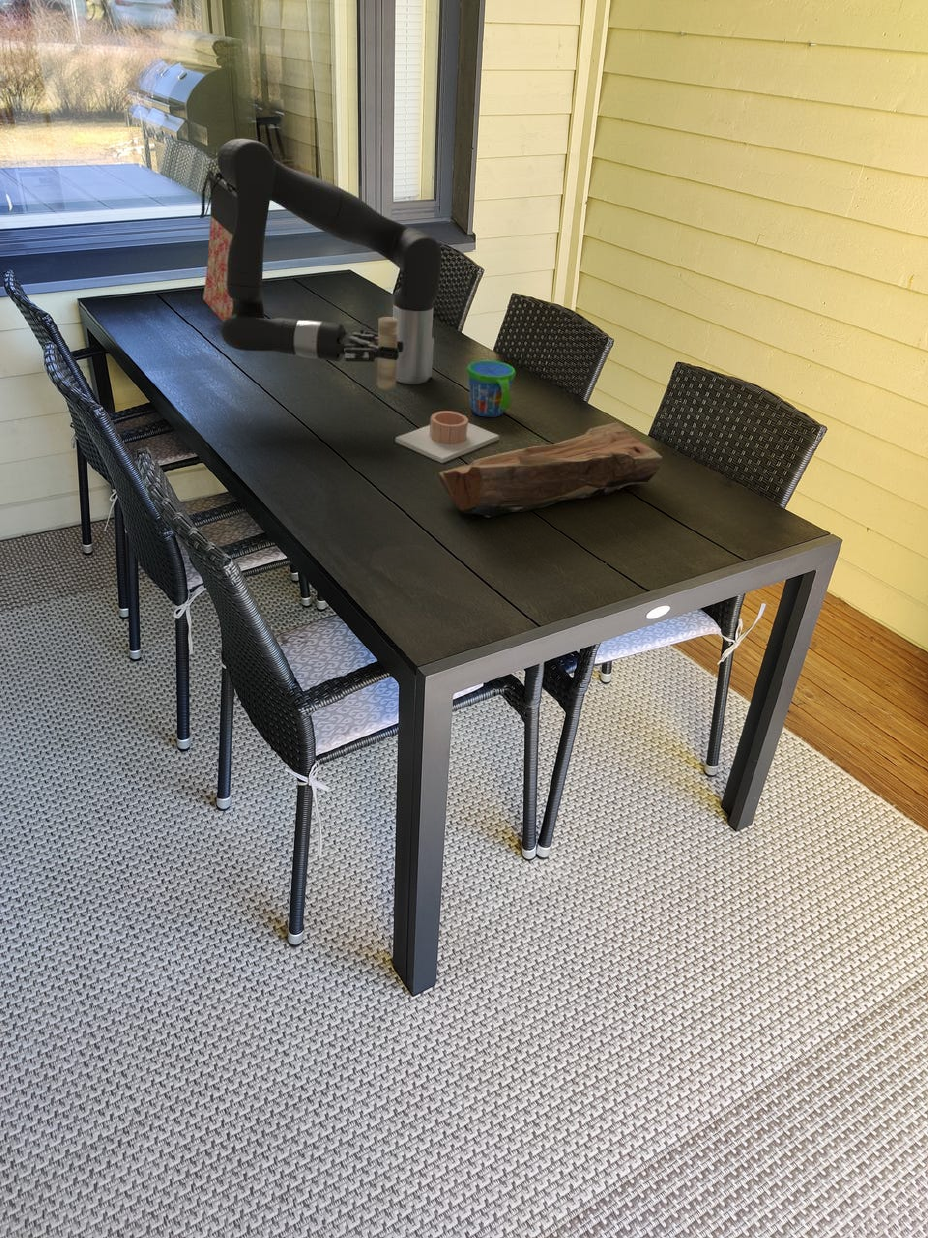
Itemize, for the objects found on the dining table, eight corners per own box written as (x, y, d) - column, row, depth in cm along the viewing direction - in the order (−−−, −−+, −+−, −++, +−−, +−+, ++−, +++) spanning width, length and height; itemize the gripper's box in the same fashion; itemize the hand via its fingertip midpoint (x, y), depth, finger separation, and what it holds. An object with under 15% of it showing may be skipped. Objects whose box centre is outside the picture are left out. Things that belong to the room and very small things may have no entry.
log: (464, 530, 173) (488, 455, 165) (421, 481, 185) (441, 408, 177) (644, 526, 196) (673, 459, 187) (596, 481, 207) (621, 417, 199)
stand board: (452, 420, 215) (453, 416, 214) (498, 439, 208) (499, 435, 208) (395, 441, 203) (395, 437, 203) (442, 463, 197) (442, 458, 196)
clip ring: (446, 426, 210) (448, 408, 207) (473, 437, 206) (475, 419, 204) (422, 435, 205) (423, 417, 202) (449, 447, 201) (451, 429, 199)
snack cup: (453, 399, 225) (457, 356, 219) (495, 397, 228) (500, 354, 223) (477, 427, 213) (481, 382, 207) (521, 424, 217) (527, 379, 211)
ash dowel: (386, 381, 209) (388, 315, 201) (399, 386, 207) (402, 320, 199) (372, 385, 206) (374, 319, 198) (386, 391, 204) (388, 324, 196)
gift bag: (192, 299, 269) (182, 161, 249) (243, 296, 275) (237, 161, 255) (222, 334, 248) (214, 186, 228) (276, 330, 254) (273, 185, 234)
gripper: (309, 333, 195) (394, 343, 194) (328, 311, 207) (408, 321, 205) (310, 369, 199) (393, 380, 198) (328, 346, 211) (407, 356, 209)
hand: (400, 350), depth 201 cm, fingers closed on ash dowel, 4 cm apart
